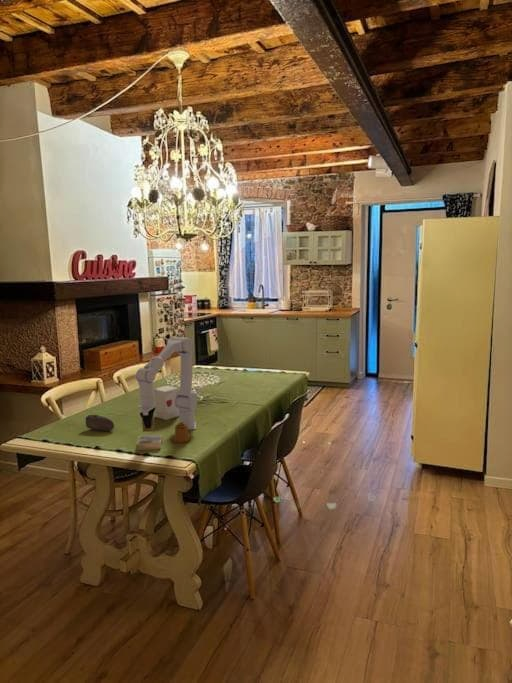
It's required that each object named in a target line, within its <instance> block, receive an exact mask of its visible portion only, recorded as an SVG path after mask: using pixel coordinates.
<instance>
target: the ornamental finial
mask: <svg viewBox="0 0 512 683" xmlns="http://www.w3.org/2000/svg"><path fill="white" fill-rule="evenodd" d="M189 431H190V430H188V425H186V424H185V423H183V422H181V423H178V424H176V425H175V427H174V435H173V441H174V442H175V443H177V444H183V443H184V444H185V443H189V441H190V440H191V437H192V436H191V435H190V432H189Z"/></svg>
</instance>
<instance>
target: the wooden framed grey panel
mask: <svg viewBox="0 0 512 683" xmlns="http://www.w3.org/2000/svg"><path fill="white" fill-rule="evenodd" d="M163 441H164V435H163V433H158V434H141V435H139V437H138V439H137V441H136V444H135V445H136V451H151V450H161V449H162V446H163Z"/></svg>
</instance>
